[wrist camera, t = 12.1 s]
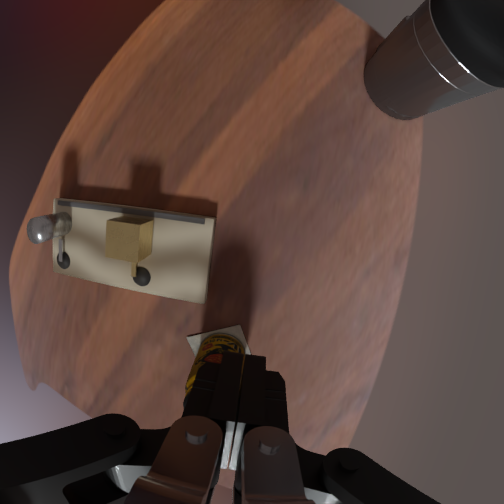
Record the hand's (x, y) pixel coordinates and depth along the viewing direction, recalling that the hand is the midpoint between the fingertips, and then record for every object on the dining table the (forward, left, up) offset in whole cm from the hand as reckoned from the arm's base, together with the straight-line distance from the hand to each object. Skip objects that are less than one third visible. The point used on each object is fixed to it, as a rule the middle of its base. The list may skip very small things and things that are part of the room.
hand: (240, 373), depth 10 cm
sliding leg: (+2, -14, -23) cm, 27 cm away
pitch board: (+3, -16, -25) cm, 30 cm away
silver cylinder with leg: (+3, -25, -23) cm, 34 cm away
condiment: (+16, -2, -25) cm, 30 cm away
